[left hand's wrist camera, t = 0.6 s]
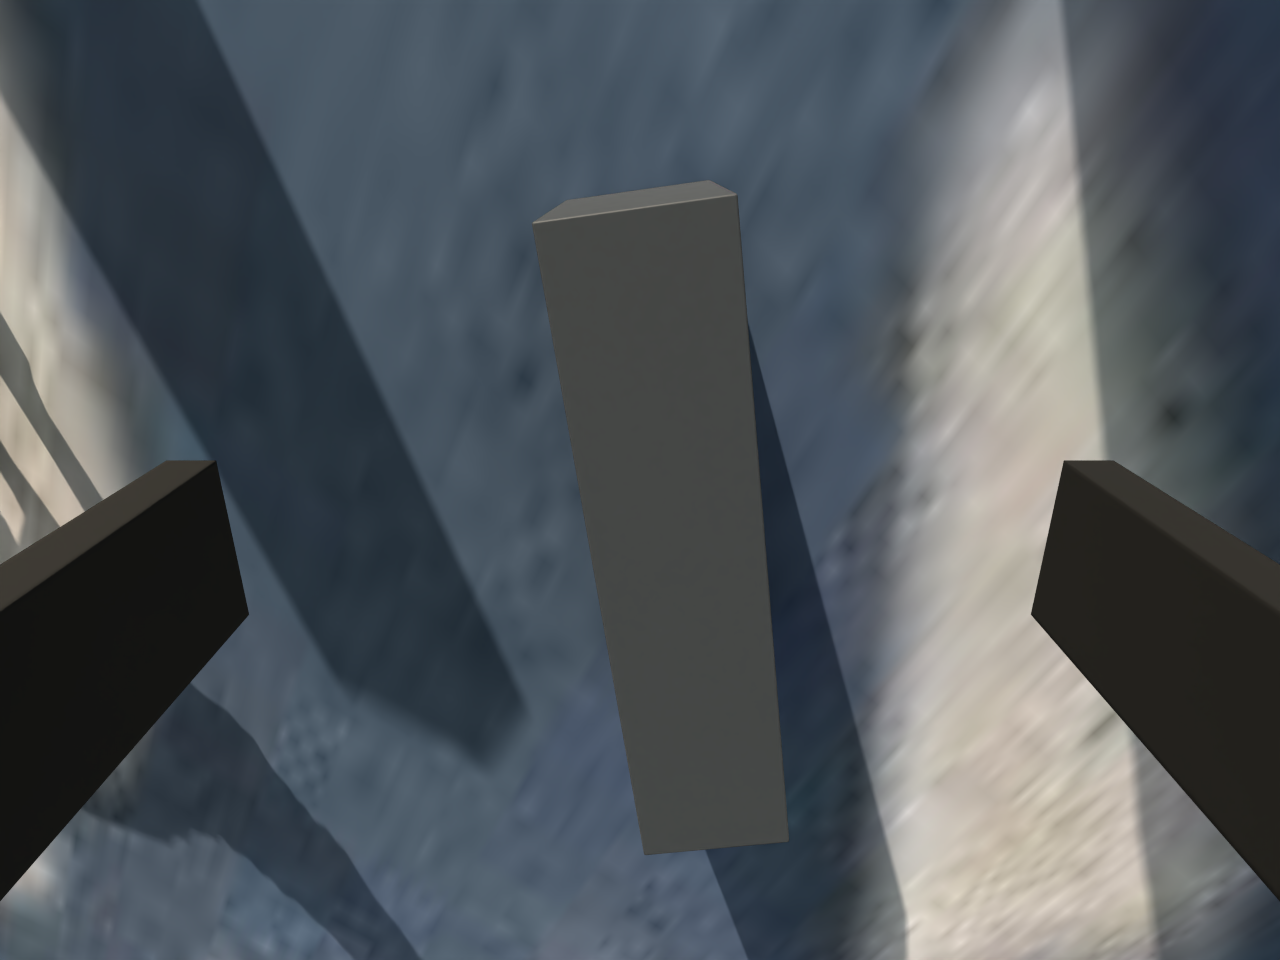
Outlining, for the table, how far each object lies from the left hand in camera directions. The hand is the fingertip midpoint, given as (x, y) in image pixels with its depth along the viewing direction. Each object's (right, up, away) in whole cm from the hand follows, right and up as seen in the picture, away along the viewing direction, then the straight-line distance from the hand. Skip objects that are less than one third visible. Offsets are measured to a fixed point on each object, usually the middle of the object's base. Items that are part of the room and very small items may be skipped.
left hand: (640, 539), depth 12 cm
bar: (+1, +1, +19) cm, 20 cm away
